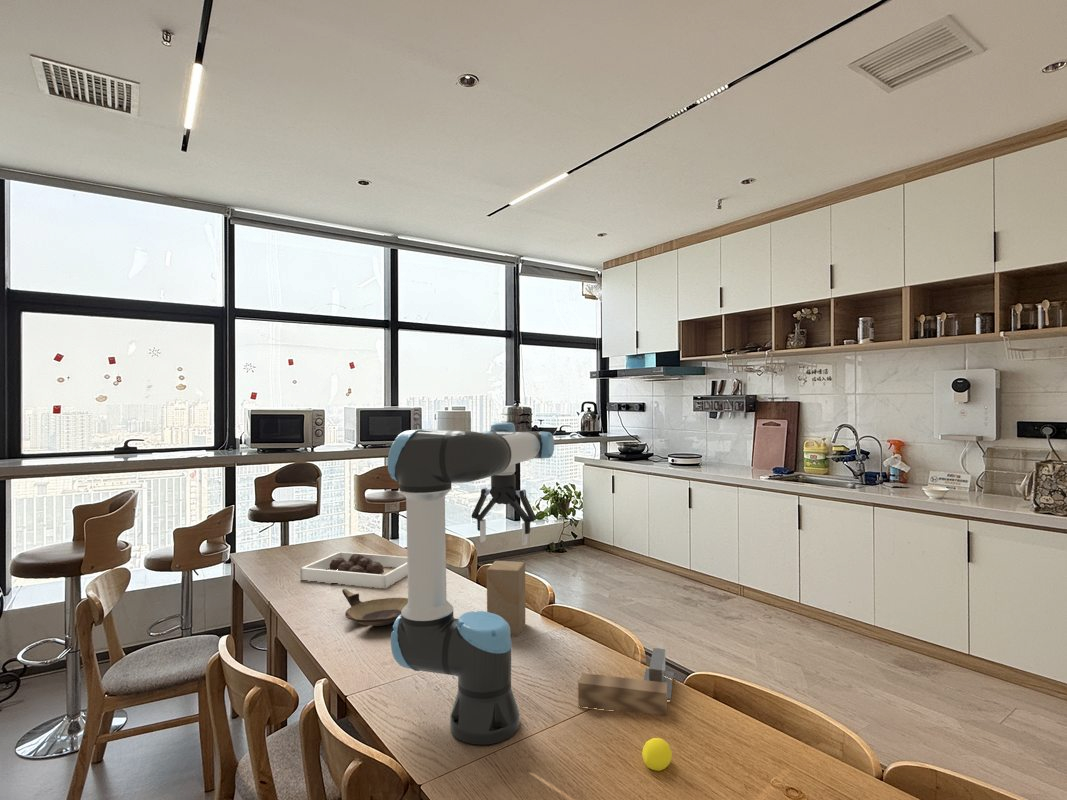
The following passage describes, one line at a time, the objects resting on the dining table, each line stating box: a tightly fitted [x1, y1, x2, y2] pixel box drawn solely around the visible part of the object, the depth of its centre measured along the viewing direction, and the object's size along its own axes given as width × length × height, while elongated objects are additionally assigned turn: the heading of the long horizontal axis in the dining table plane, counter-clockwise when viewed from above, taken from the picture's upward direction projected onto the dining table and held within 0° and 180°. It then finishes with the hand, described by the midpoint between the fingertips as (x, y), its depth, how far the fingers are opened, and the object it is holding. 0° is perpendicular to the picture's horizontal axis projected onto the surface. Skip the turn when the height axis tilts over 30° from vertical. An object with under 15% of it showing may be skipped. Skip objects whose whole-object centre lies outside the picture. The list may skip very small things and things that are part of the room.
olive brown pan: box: [341, 588, 408, 627], centre depth 190 cm, size 22×30×8 cm
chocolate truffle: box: [329, 554, 385, 575], centre depth 239 cm, size 28×17×8 cm, turn 42°
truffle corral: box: [299, 551, 408, 590], centre depth 238 cm, size 26×38×5 cm
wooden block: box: [486, 560, 526, 637], centre depth 181 cm, size 10×10×20 cm
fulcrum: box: [643, 647, 675, 700], centre depth 145 cm, size 14×7×7 cm, turn 163°
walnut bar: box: [577, 672, 668, 717], centre depth 135 cm, size 20×5×6 cm, turn 75°
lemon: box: [641, 737, 673, 772], centre depth 113 cm, size 7×5×5 cm
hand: (503, 542), depth 178 cm, fingers open, 13 cm apart
